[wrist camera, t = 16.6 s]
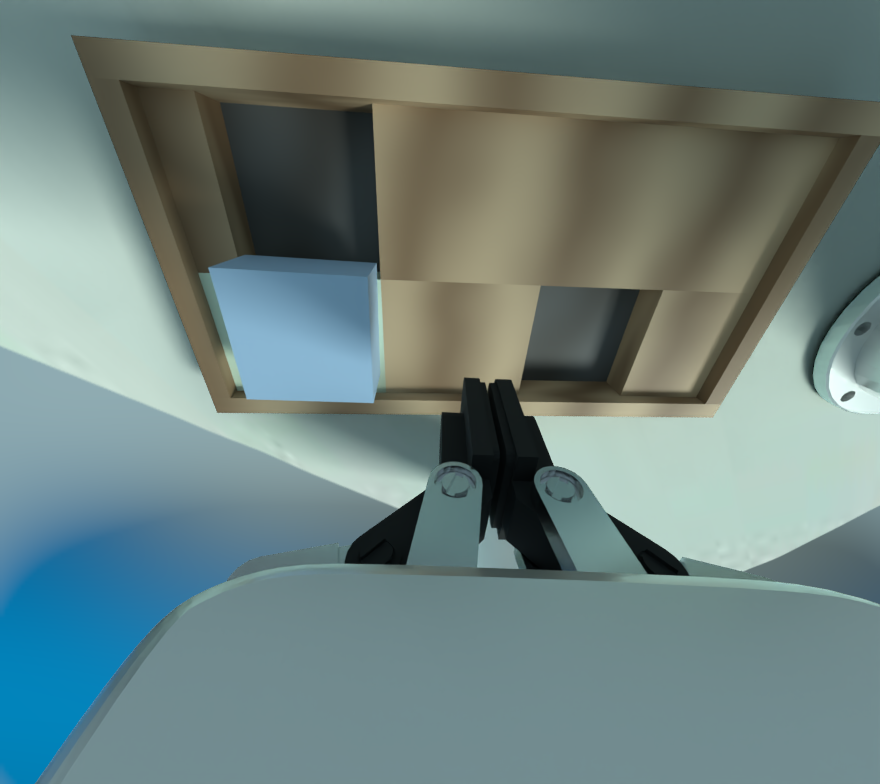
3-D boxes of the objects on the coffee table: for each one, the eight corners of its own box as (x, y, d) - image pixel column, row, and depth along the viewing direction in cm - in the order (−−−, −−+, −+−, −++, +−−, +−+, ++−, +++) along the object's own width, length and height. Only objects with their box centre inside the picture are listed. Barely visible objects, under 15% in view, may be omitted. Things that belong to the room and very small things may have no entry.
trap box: (826, 118, 15) (904, 103, 12) (682, 393, 23) (712, 417, 20) (136, 64, 13) (70, 35, 10) (240, 387, 21) (217, 412, 18)
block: (376, 263, 15) (367, 277, 13) (380, 374, 18) (373, 403, 16) (245, 254, 15) (208, 267, 12) (271, 369, 18) (246, 399, 15)
